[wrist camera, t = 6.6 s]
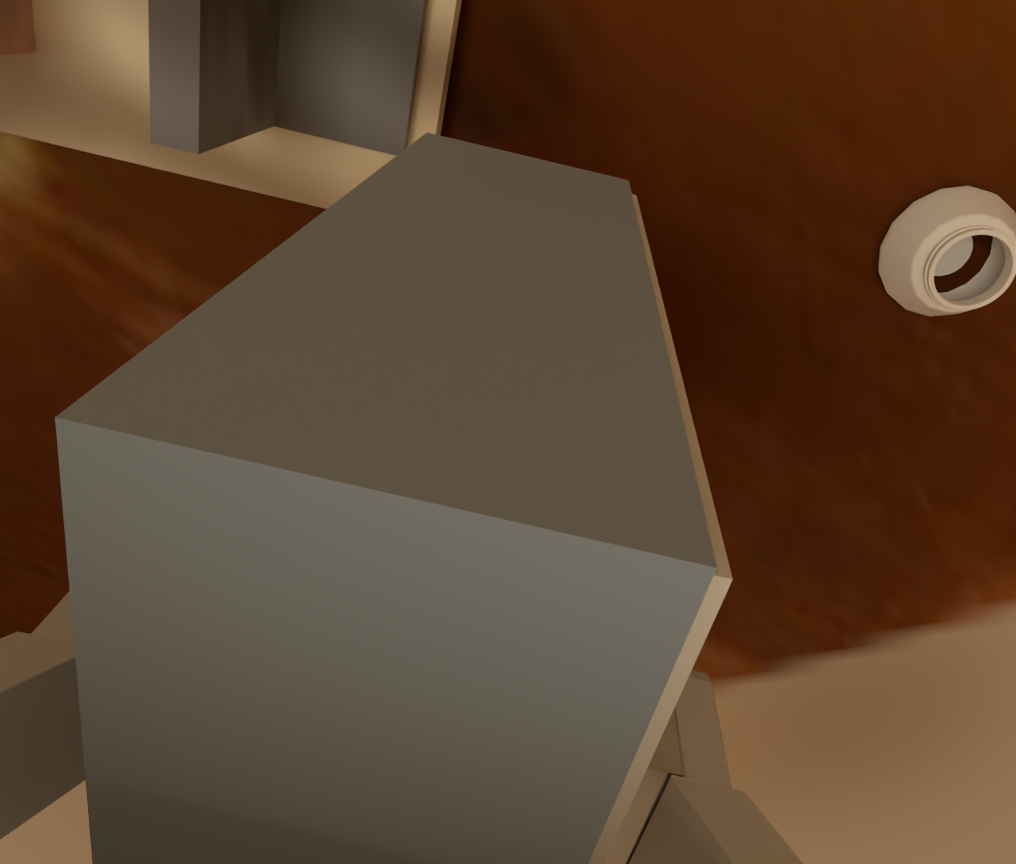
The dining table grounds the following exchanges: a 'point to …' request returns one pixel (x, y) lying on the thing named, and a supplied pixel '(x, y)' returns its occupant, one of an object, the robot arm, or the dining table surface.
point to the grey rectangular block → (394, 536)
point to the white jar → (948, 250)
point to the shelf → (231, 85)
